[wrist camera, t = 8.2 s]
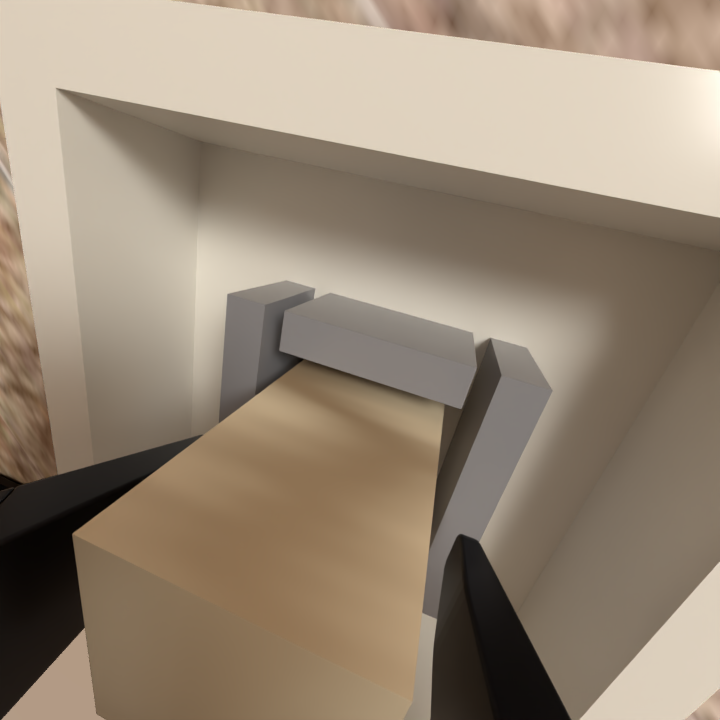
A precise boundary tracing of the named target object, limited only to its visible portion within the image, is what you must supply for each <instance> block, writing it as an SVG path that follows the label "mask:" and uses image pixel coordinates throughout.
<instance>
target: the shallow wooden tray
mask: <svg viewBox="0 0 720 720" xmlns="http://www.w3.org/2000/svg"><path fill="white" fill-rule="evenodd" d="M0 103H1V110H2V116H3V123H4V129H5V136H6V142H7V149H8V155H9V162H10V168H11V175H12V181H13V188H14V194H15V201H16V207H17V214H18V220H19V227H20V233H21V239H22V246H23V252H24V259H25V265H26V272H27V278H28V285H29V291H30V298H31V304H32V311H33V317H34V324H35V330H36V337H37V343H38V350H39V356H40V363H41V369H42V376H43V382H44V388H45V395H46V401H47V408H48V414H49V421H50V427H51V434H52V440H53V447H54V453H55V460H56V466H57V473H58V475H59V474H63V473H66V472H70V471H73V470H77V469H80V468H84V467H88V466H91V465H95V464H98V463H102V462H105V461H109V460H113V459H116V458H120V457H123V456H127V455H130V454H134V453H137V452H141V451H145V450H148V449H152V448H155V447H159V446H162V445H166V444H170V443H173V442H177V441H180V440H184V439H187V438H191V437H194V436H198V435H204V434H206V433H207V432H208V431H210V430H211V429H212V428H214V427H215V426H216V425H218V424H219V423H220V422H222V421H223V420H224V419H226V418H227V417H228V416H230V415H231V414H232V413H234V412H235V411H236V410H238V409H239V408H240V407H241V406H243V405H244V404H245V403H247V402H248V401H249V400H251V399H252V398H253V397H255V396H256V395H257V394H259V393H260V392H261V391H263V390H264V389H265V388H267V387H268V386H269V385H271V384H272V383H273V382H275V381H276V380H277V379H279V378H280V377H281V376H283V375H284V374H285V373H287V372H288V371H289V370H291V369H292V368H293V367H295V366H296V365H297V364H299V363H300V362H301V361H303V360H304V359H306V360H310V361H313V362H316V363H319V364H322V365H325V366H328V367H331V368H334V369H338V370H341V371H344V372H347V373H350V374H353V375H356V376H359V377H362V378H366V379H369V380H372V381H375V382H378V383H381V384H384V385H387V386H390V387H393V388H397V389H400V390H403V391H406V392H409V393H412V394H415V395H418V396H421V397H425V398H428V399H431V400H434V401H437V402H440V403H443V404H445V406H444V415H443V424H442V434H441V443H440V452H439V461H438V471H437V480H436V489H435V498H434V508H433V517H432V526H431V535H430V545H429V554H428V563H427V572H426V582H425V591H424V600H423V609H422V619H421V628H420V637H419V646H418V656H417V665H416V674H415V683H414V693H413V702H412V704H411V706H410V707H409V709H408V711H407V713H406V715H405V717H404V719H403V720H430V717H431V689H432V661H433V646H434V638H435V630H436V623H437V616H438V608H439V601H440V594H441V587H442V580H443V573H444V567H445V563H446V560H447V557H448V555H449V553H450V550H451V548H452V546H453V544H454V541H455V539H456V537H457V536H458V535H459V534H464V535H466V536H469V537H472V538H474V539H476V540H478V541H479V543H480V544H481V546H482V548H483V550H484V552H485V554H486V556H487V558H488V560H489V562H490V563H491V565H492V567H493V569H494V571H495V573H496V575H497V577H498V579H499V581H500V583H501V585H502V587H503V589H504V590H505V592H506V594H507V596H508V598H509V600H510V602H511V604H512V606H513V608H514V610H515V612H516V614H517V615H518V617H519V619H520V621H521V623H522V625H523V627H524V629H525V631H526V633H527V635H528V637H529V639H530V641H531V642H532V644H533V646H534V648H535V650H536V652H537V654H538V656H539V658H540V660H541V662H542V664H543V666H544V667H545V669H546V671H547V673H548V675H549V677H550V679H551V681H552V683H553V685H554V687H555V689H556V691H557V693H558V694H559V696H560V698H561V700H562V702H563V704H564V706H565V708H566V710H567V712H568V714H569V716H570V718H571V719H572V720H685V719H686V718H687V717H688V716H689V715H691V714H692V713H693V712H694V711H695V710H696V709H697V708H698V707H699V706H701V705H702V704H703V703H704V702H705V701H706V700H707V699H708V698H709V697H711V696H712V695H713V694H714V693H715V692H716V691H717V690H718V689H720V71H715V70H707V69H699V68H692V67H684V66H676V65H668V64H660V63H653V62H645V61H637V60H629V59H622V58H614V57H606V56H598V55H591V54H583V53H575V52H567V51H559V50H552V49H544V48H536V47H528V46H521V45H513V44H505V43H497V42H490V41H482V40H474V39H466V38H458V37H451V36H443V35H435V34H427V33H420V32H412V31H404V30H396V29H388V28H381V27H373V26H365V25H357V24H350V23H342V22H334V21H326V20H319V19H311V18H303V17H295V16H287V15H280V14H272V13H264V12H256V11H249V10H241V9H233V8H225V7H218V6H210V5H202V4H194V3H186V2H179V1H171V0H0Z"/></svg>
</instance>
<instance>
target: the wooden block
mask: <svg viewBox="0 0 720 720" xmlns="http://www.w3.org/2000/svg"><path fill="white" fill-rule="evenodd" d="M444 406H445V404H443V403H440V402H437V401H434V400H431V399H428V398H425V397H421V396H418V395H415V394H412V393H409V392H406V391H403V390H400V389H397V388H393V387H390V386H387V385H384V384H381V383H378V382H375V381H372V380H369V379H366V378H362V377H359V376H356V375H353V374H350V373H347V372H344V371H341V370H338V369H334V368H331V367H328V366H325V365H322V364H319V363H316V362H313V361H310V360H306V359H304V360H303V361H301V362H300V363H299V364H297V365H296V366H295V367H293V368H292V369H291V370H289V371H288V372H287V373H285V374H284V375H283V376H281V377H280V378H279V379H277V380H276V381H275V382H273V383H272V384H271V385H269V386H268V387H267V388H265V389H264V390H263V391H261V392H260V393H259V394H257V395H256V396H255V397H253V398H252V399H251V400H249V401H248V402H247V403H245V404H244V405H243V406H241V407H240V408H239V409H238V410H236V411H235V412H234V413H232V414H231V415H230V416H228V417H227V418H226V419H224V420H223V421H222V422H220V423H219V424H218V425H216V426H215V427H214V428H212V429H211V430H210V431H208V432H207V433H206V434H204V435H203V436H202V437H200V438H199V439H198V440H196V441H195V442H194V443H192V444H191V445H190V446H188V447H187V448H186V449H184V450H183V451H182V452H180V453H179V454H178V455H176V456H175V457H174V458H172V459H171V460H170V461H168V462H167V463H166V464H164V465H163V466H162V467H160V468H159V469H158V470H156V471H155V472H154V473H152V474H151V475H150V476H148V477H147V478H146V479H144V480H143V481H142V482H141V483H139V484H138V485H137V486H135V487H134V488H133V489H131V490H130V491H129V492H127V493H126V494H125V495H123V496H122V497H121V498H119V499H118V500H117V501H115V502H114V503H113V504H111V505H110V506H109V507H107V508H106V509H105V510H103V511H102V512H101V513H99V514H98V515H97V516H95V517H94V518H93V519H91V520H90V521H89V522H87V523H86V524H85V525H83V526H82V527H81V528H79V529H78V530H77V531H75V532H74V533H73V534H72V536H73V544H74V551H75V559H76V566H77V573H78V581H79V588H80V596H81V603H82V610H83V618H84V625H85V632H86V639H87V647H88V654H89V662H90V669H91V677H92V684H93V692H94V699H95V707H96V713H97V715H99V716H101V717H103V718H104V719H106V720H403V719H404V717H405V715H406V713H407V711H408V709H409V707H410V706H411V704H412V702H413V693H414V683H415V674H416V665H417V656H418V646H419V637H420V628H421V619H422V609H423V600H424V591H425V582H426V572H427V563H428V554H429V545H430V535H431V526H432V517H433V508H434V498H435V489H436V480H437V471H438V461H439V452H440V443H441V434H442V424H443V415H444Z"/></svg>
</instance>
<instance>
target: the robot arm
mask: <svg viewBox="0 0 720 720" xmlns="http://www.w3.org/2000/svg"><path fill="white" fill-rule="evenodd" d="M202 436H203V435H198V436H194V437H191V438H187V439H184V440H180V441H177V442H173V443H170V444H166V445H162V446H159V447H155V448H152V449H148V450H145V451H141V452H137V453H134V454H130V455H127V456H123V457H120V458H116V459H113V460H109V461H105V462H102V463H98V464H95V465H91V466H88V467H84V468H80V469H77V470H73V471H70V472H66V473H63V474H59V475H55V476H52V477H48V478H45V479H41V480H38V481H34V482H30V483H27V484H23V485H19V484H17V483H15V482H13V481H11V480H8V479H6V478H4V477H2V476H0V720H1V719H2V718H3V717H4V716H5V715H6V714H7V712H9V711H10V709H11V708H12V707H13V706H14V705H15V704H16V703H17V702H18V701H19V699H20V698H21V697H22V696H23V695H24V694H25V693H26V692H27V691H28V689H29V688H30V687H31V686H32V685H33V684H34V683H35V682H36V681H37V680H38V679H39V677H40V676H41V675H42V674H43V673H44V672H45V671H46V670H47V668H48V667H49V666H50V665H51V664H52V663H53V662H54V661H55V660H56V659H57V658H58V656H59V655H60V654H61V653H62V652H63V651H64V650H65V649H66V648H67V647H68V645H69V644H70V643H71V642H72V641H73V640H74V639H75V638H76V637H77V635H78V634H79V633H80V632H81V631H82V630H83V629H84V628H85V625H84V618H83V610H82V603H81V596H80V588H79V581H78V573H77V566H76V559H75V551H74V544H73V536H72V534H73V533H74V532H75V531H77V530H78V529H79V528H81V527H82V526H83V525H85V524H86V523H87V522H89V521H90V520H91V519H93V518H94V517H95V516H97V515H98V514H99V513H101V512H102V511H103V510H105V509H106V508H107V507H109V506H110V505H111V504H113V503H114V502H115V501H117V500H118V499H119V498H121V497H122V496H123V495H125V494H126V493H127V492H129V491H130V490H131V489H133V488H134V487H135V486H137V485H138V484H139V483H141V482H142V481H143V480H144V479H146V478H147V477H148V476H150V475H151V474H152V473H154V472H155V471H156V470H158V469H159V468H160V467H162V466H163V465H164V464H166V463H167V462H168V461H170V460H171V459H172V458H174V457H175V456H176V455H178V454H179V453H180V452H182V451H183V450H184V449H186V448H187V447H188V446H190V445H191V444H192V443H194V442H195V441H196V440H198V439H199V438H200V437H202ZM430 720H572V719H571V718H570V716H569V714H568V712H567V710H566V708H565V706H564V704H563V702H562V700H561V698H560V696H559V694H558V693H557V691H556V689H555V687H554V685H553V683H552V681H551V679H550V677H549V675H548V673H547V671H546V669H545V667H544V666H543V664H542V662H541V660H540V658H539V656H538V654H537V652H536V650H535V648H534V646H533V644H532V642H531V641H530V639H529V637H528V635H527V633H526V631H525V629H524V627H523V625H522V623H521V621H520V619H519V617H518V615H517V614H516V612H515V610H514V608H513V606H512V604H511V602H510V600H509V598H508V596H507V594H506V592H505V590H504V589H503V587H502V585H501V583H500V581H499V579H498V577H497V575H496V573H495V571H494V569H493V567H492V565H491V563H490V562H489V560H488V558H487V556H486V554H485V552H484V550H483V548H482V546H481V544H480V543H479V541H478V540H476V539H474V538H472V537H469V536H466V535H464V534H459V535H458V536H457V537H456V539H455V541H454V544H453V546H452V548H451V550H450V553H449V555H448V557H447V560H446V563H445V567H444V573H443V580H442V587H441V594H440V601H439V608H438V616H437V623H436V630H435V638H434V646H433V661H432V689H431V717H430Z"/></svg>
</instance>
